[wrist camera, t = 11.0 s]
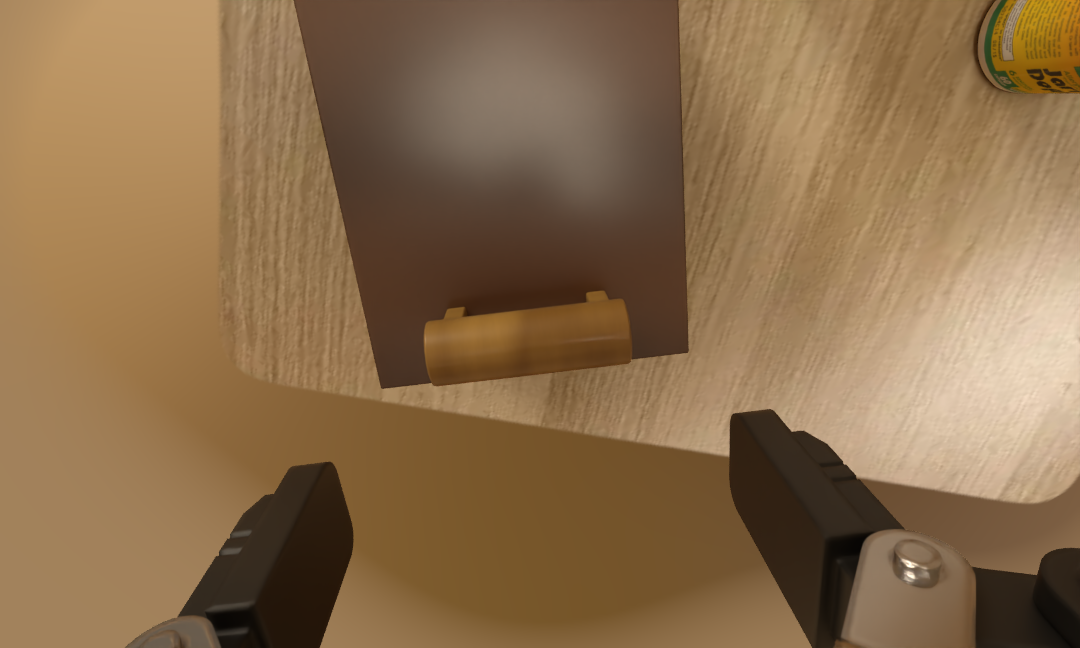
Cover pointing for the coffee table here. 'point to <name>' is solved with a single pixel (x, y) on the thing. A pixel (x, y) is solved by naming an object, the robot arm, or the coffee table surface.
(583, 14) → the lid
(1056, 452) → the coffee table surface
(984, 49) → the supplement bottle
